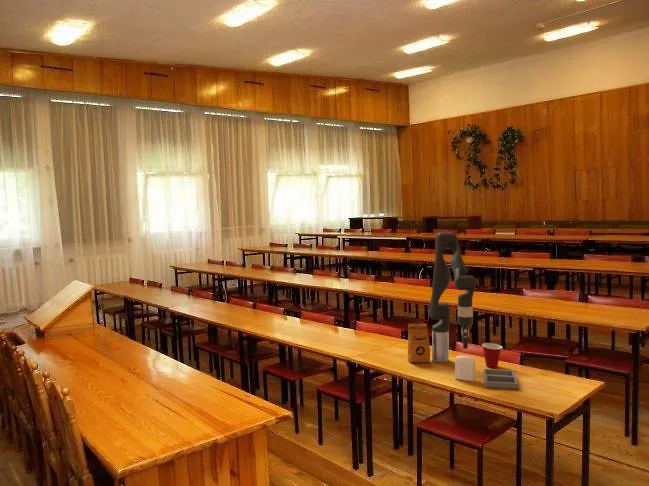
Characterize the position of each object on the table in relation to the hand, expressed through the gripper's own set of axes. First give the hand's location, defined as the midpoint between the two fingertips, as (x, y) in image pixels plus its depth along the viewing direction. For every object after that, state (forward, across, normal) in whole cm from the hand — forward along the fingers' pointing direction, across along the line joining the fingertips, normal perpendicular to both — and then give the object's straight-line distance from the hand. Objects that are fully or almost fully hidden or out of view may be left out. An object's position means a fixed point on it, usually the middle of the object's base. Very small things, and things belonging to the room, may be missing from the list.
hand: (465, 346), depth 279 cm
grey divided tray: (+18, 0, +17) cm, 24 cm away
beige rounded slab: (+18, 0, 0) cm, 18 cm away
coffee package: (+18, -28, -25) cm, 41 cm away
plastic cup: (+18, -25, +15) cm, 34 cm away
